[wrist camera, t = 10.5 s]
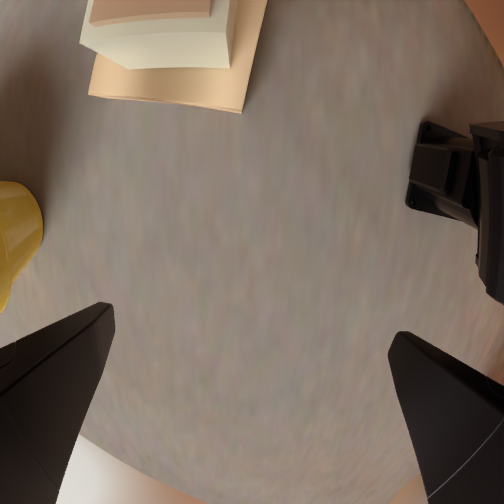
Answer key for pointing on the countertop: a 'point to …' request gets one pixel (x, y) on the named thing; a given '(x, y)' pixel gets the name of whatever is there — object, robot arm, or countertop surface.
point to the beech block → (189, 72)
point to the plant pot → (17, 234)
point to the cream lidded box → (161, 32)
